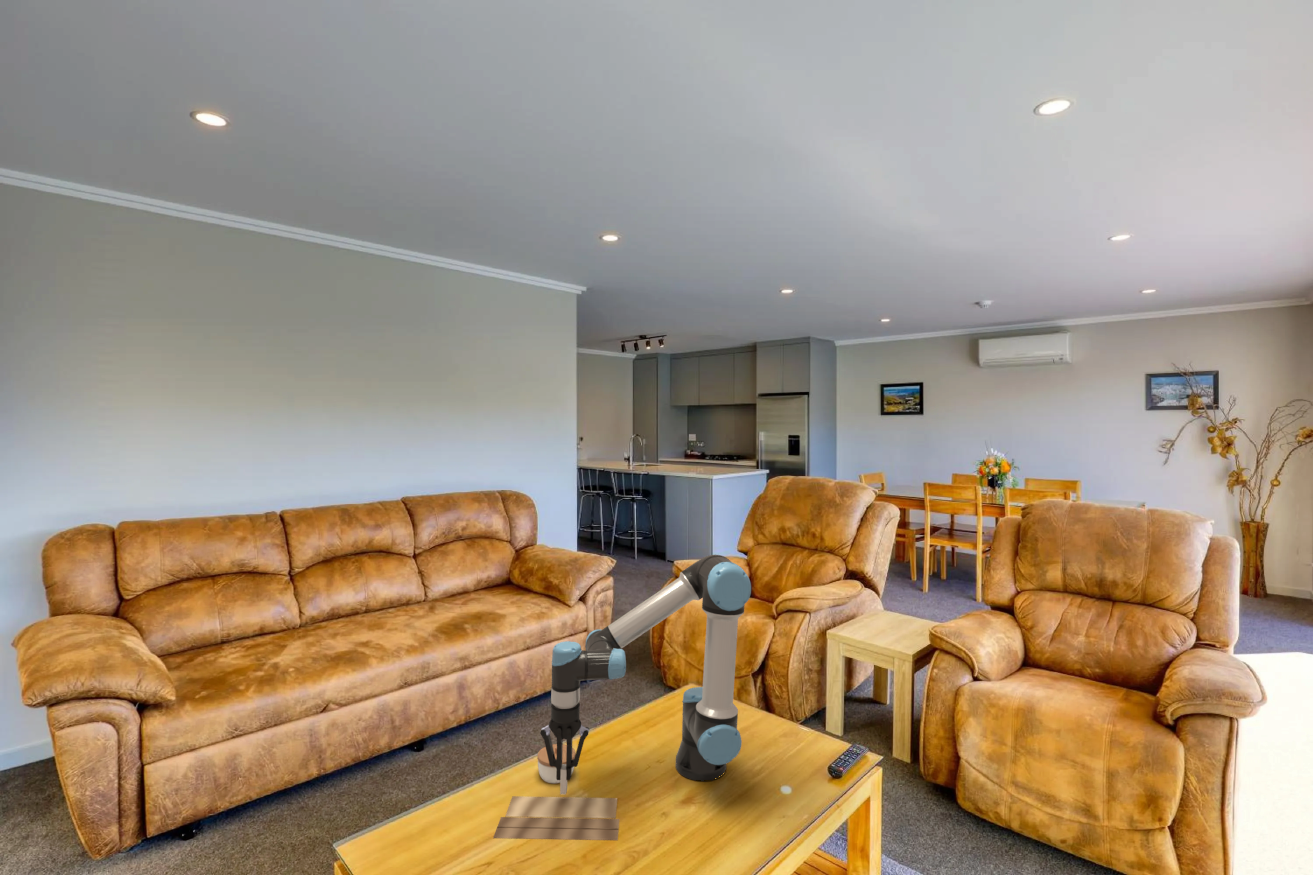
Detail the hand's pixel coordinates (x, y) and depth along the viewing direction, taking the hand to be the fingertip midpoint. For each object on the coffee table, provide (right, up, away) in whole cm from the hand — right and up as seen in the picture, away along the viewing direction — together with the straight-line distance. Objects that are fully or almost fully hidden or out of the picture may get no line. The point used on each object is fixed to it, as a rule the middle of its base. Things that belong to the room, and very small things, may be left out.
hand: (563, 791), depth 162 cm
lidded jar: (-4, -4, +13) cm, 14 cm away
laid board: (0, -4, -11) cm, 12 cm away
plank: (0, -4, -2) cm, 5 cm away
